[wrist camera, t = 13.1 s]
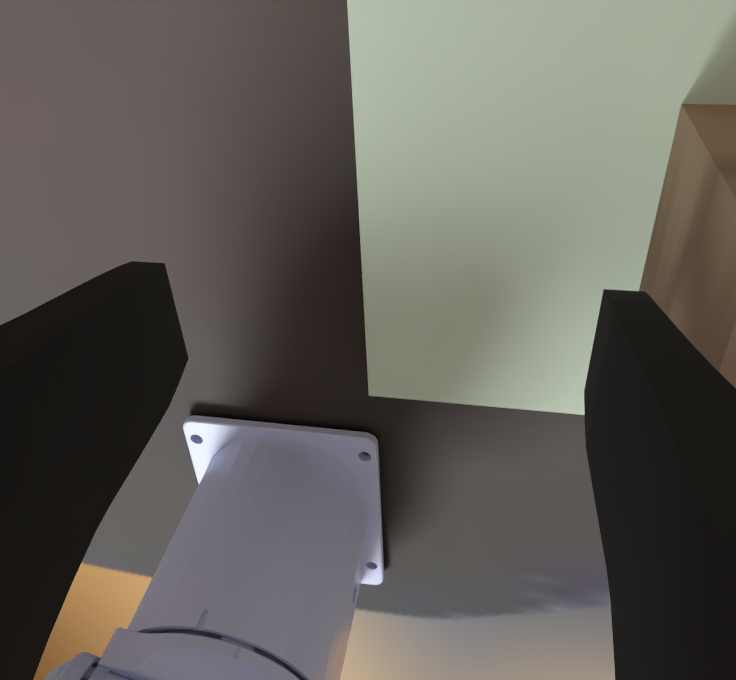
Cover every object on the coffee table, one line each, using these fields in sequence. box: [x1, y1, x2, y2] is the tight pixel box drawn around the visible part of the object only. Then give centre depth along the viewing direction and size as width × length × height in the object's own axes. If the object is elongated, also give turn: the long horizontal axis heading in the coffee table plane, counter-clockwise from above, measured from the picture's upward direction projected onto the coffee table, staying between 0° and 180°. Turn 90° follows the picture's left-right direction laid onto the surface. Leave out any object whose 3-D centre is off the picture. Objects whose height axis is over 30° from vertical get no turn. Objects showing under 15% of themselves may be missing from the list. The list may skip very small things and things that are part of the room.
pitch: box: [347, 0, 736, 415], centre depth 15 cm, size 24×17×4 cm
